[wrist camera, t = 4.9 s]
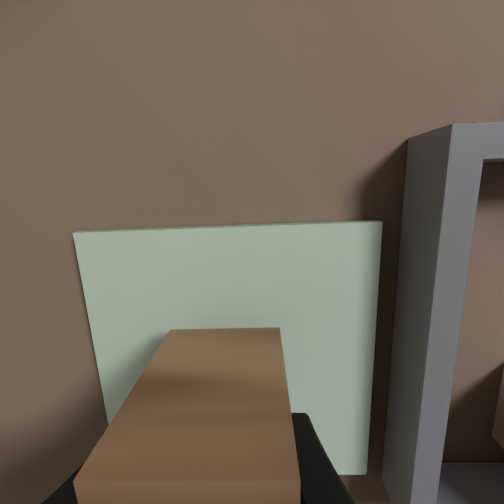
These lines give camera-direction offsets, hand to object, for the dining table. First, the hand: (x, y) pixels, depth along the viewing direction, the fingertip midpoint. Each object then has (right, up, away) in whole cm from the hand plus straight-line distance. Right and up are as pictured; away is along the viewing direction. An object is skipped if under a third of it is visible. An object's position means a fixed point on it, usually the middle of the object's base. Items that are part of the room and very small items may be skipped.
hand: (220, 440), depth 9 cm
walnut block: (0, +1, +2) cm, 2 cm away
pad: (0, +1, +4) cm, 4 cm away
